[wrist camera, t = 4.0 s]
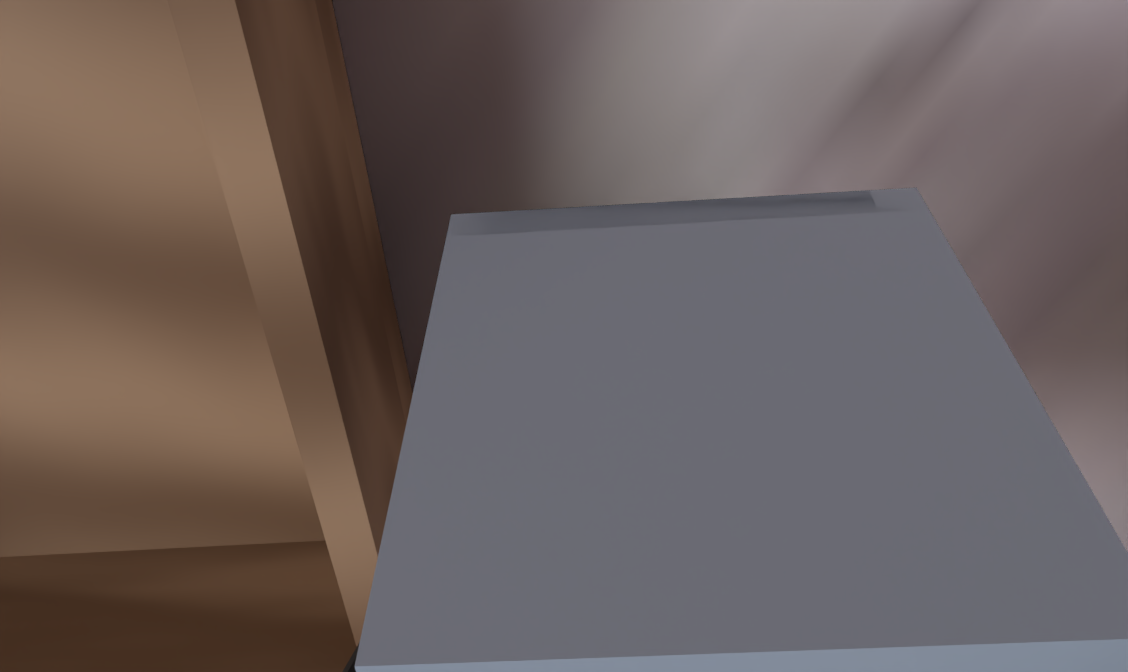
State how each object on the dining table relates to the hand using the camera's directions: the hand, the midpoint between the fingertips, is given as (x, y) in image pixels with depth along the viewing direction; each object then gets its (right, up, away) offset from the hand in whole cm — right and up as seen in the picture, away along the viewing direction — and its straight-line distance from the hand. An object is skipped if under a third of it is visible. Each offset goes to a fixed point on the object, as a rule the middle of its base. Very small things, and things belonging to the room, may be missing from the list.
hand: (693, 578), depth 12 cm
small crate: (0, +1, +1) cm, 2 cm away
